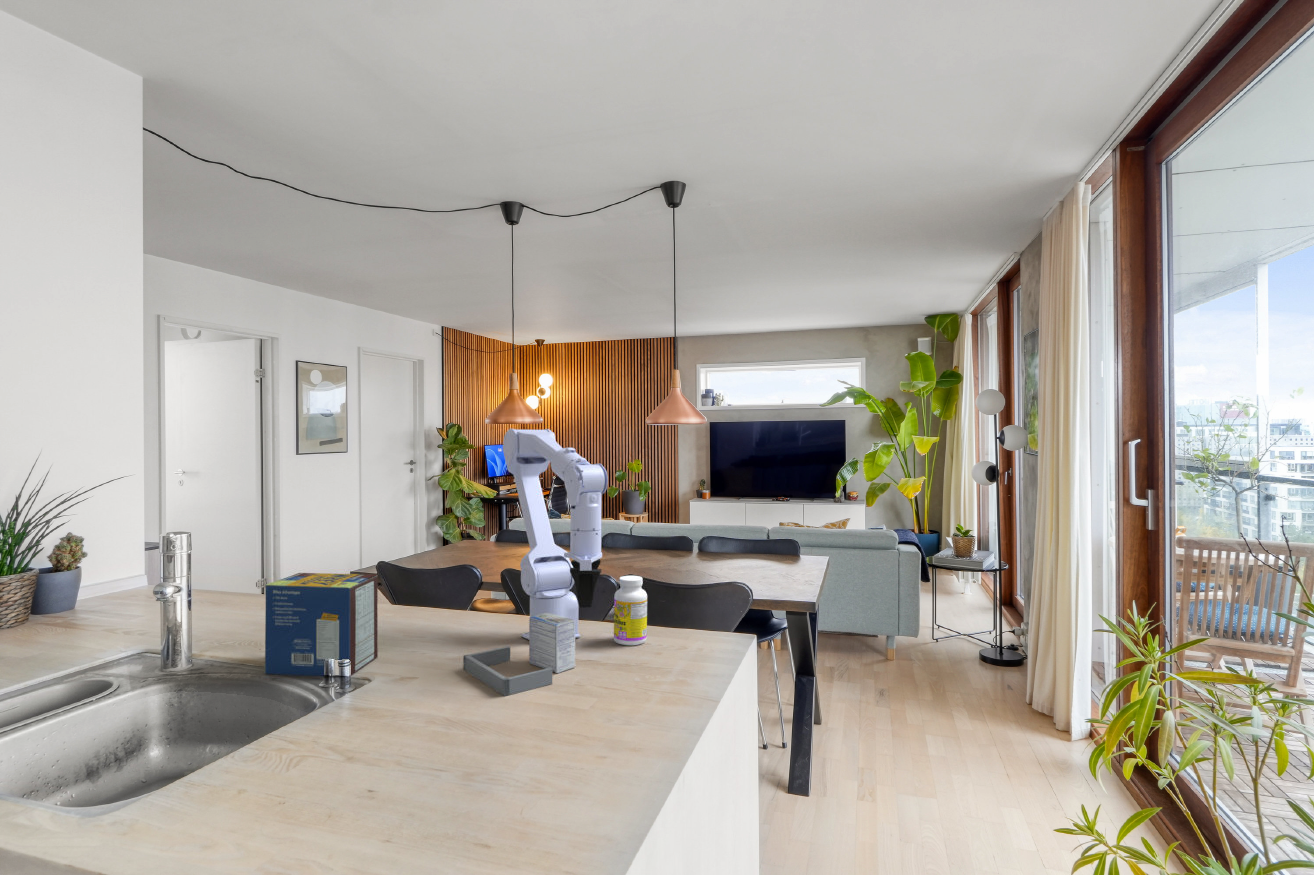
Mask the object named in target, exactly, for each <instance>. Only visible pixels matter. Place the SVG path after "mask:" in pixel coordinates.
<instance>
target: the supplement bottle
mask: <svg viewBox="0 0 1314 875" xmlns="http://www.w3.org/2000/svg"><path fill="white" fill-rule="evenodd" d="M618 579H619V580H618V583H619V587H620V588H619V589H617V590H616V591H615V593H614V597H613V599H614V600H613V601H614V603H613V606H614V607H613V641H614V642H615V643H617V644H619V645H621V646H631V647H632V646H638V645H642V644H644V643H645V642H646V641H647V638H648V637H647V634H648V632H647V631H648V626H647V625H648V594H647V592H646V590H645V589H643V588H642V586H643V584H644V583H643V582H644V581H643V577H642V576H639V575H623V576H620V577H619V578H618Z"/></svg>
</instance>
